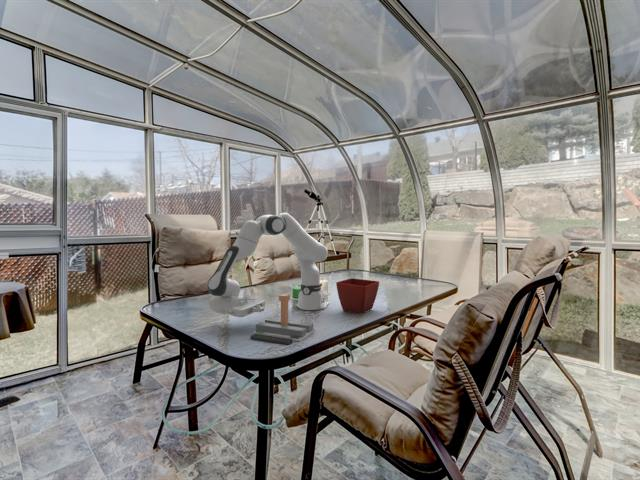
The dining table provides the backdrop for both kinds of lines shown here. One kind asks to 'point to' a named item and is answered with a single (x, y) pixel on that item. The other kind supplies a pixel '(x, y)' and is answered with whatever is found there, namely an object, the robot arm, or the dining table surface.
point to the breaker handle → (284, 308)
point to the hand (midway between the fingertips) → (262, 309)
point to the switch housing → (284, 329)
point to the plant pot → (357, 294)
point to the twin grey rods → (271, 339)
